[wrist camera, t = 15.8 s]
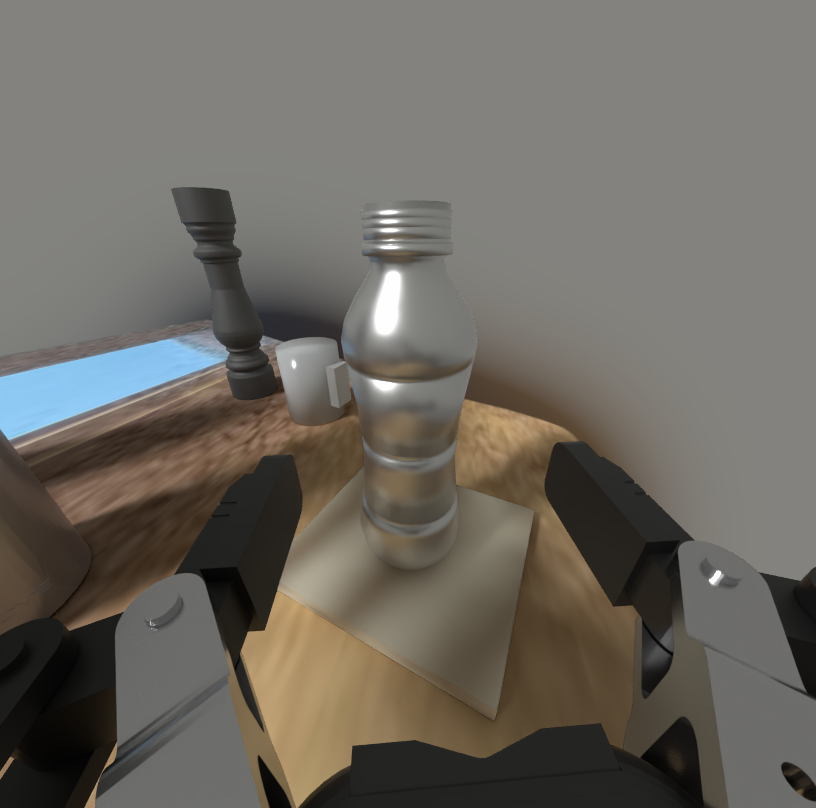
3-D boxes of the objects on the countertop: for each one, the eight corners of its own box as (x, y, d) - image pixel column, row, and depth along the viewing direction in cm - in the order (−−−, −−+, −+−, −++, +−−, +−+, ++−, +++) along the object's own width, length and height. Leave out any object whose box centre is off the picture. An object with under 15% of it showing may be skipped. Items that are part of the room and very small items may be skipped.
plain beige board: (266, 583, 21) (262, 572, 20) (372, 467, 31) (371, 457, 30) (494, 721, 15) (497, 710, 14) (531, 520, 25) (534, 510, 24)
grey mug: (278, 418, 40) (261, 350, 35) (315, 396, 45) (305, 334, 41) (329, 433, 36) (317, 360, 32) (363, 407, 42) (356, 342, 38)
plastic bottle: (409, 492, 26) (405, 213, 17) (477, 542, 22) (523, 202, 12) (344, 538, 22) (291, 207, 13) (411, 610, 18) (405, 190, 8)
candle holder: (228, 402, 44) (158, 186, 32) (237, 385, 49) (179, 193, 37) (275, 396, 45) (225, 187, 33) (278, 380, 50) (236, 194, 38)
